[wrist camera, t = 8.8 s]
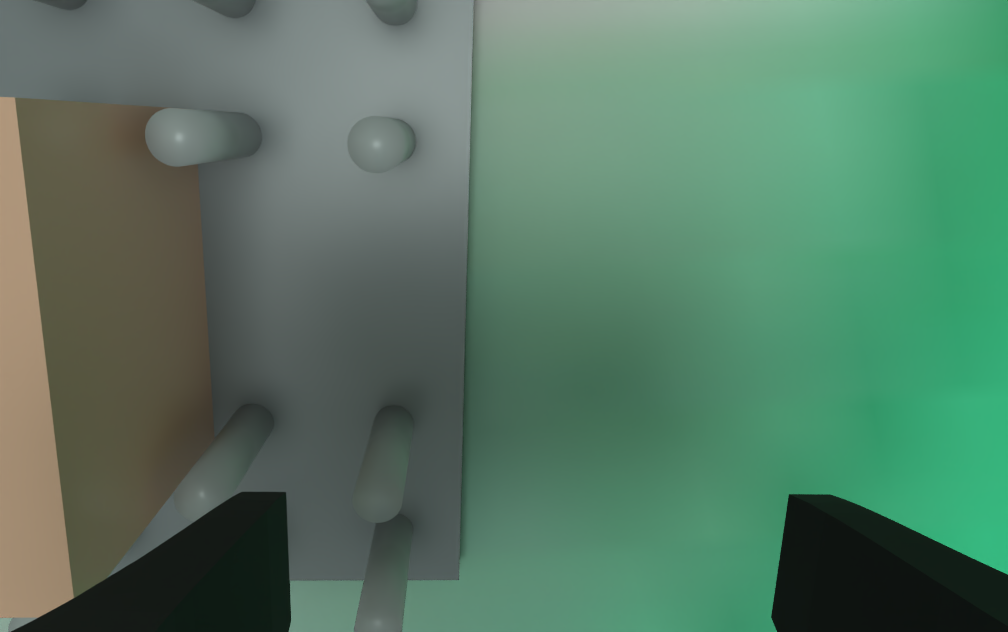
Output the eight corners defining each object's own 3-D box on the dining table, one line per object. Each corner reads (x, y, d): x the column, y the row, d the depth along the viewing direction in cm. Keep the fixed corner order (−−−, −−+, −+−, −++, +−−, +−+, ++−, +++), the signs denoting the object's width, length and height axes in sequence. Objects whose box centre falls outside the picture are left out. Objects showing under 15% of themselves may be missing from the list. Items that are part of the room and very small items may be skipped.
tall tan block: (214, 439, 19) (76, 616, 12) (149, 438, 19) (-29, 617, 12) (194, 109, 17) (14, 97, 10) (120, 106, 17) (-112, 92, 10)
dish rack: (458, 559, 21) (459, 688, 16) (-60, 559, 20) (-224, 697, 15) (474, -58, 17) (481, -131, 12) (-169, -93, 16) (-436, -188, 11)
